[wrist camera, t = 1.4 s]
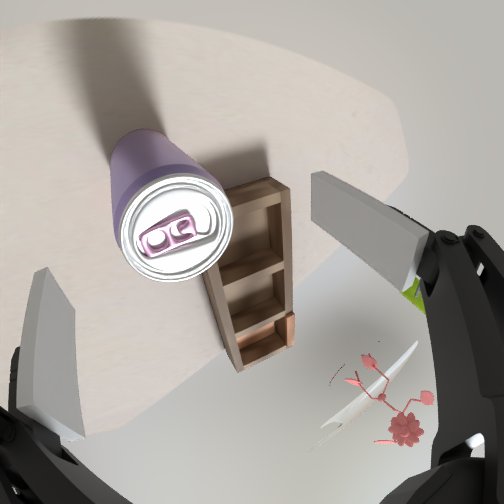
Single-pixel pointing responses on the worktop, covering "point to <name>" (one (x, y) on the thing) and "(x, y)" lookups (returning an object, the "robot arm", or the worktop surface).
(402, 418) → the pink flower branch
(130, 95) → the worktop surface
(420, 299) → the soap dispenser
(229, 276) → the can caddy
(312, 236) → the worktop surface
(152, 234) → the beverage can
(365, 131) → the worktop surface
